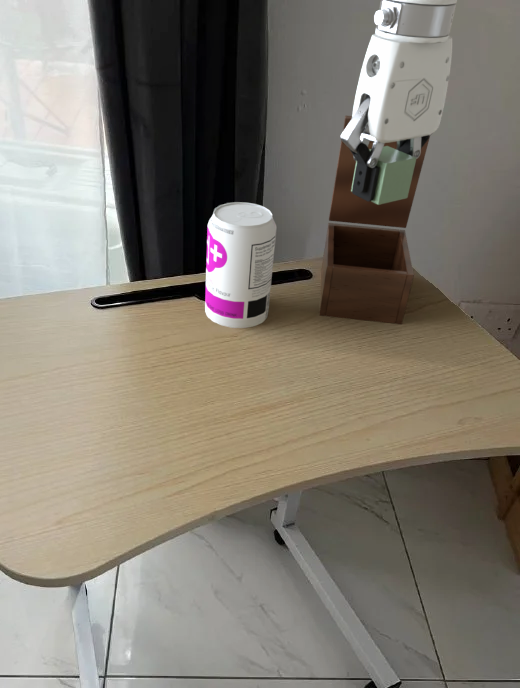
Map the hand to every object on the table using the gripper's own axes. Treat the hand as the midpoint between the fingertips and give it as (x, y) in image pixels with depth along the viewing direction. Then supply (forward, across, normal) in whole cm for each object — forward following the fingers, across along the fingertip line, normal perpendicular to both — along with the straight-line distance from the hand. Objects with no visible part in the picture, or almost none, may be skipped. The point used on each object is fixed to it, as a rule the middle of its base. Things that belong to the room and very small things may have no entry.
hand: (379, 191), depth 79 cm
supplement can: (+17, -15, +6) cm, 24 cm away
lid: (+1, +5, +6) cm, 8 cm away
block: (0, 0, 0) cm, 0 cm away
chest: (+17, +2, +2) cm, 17 cm away
